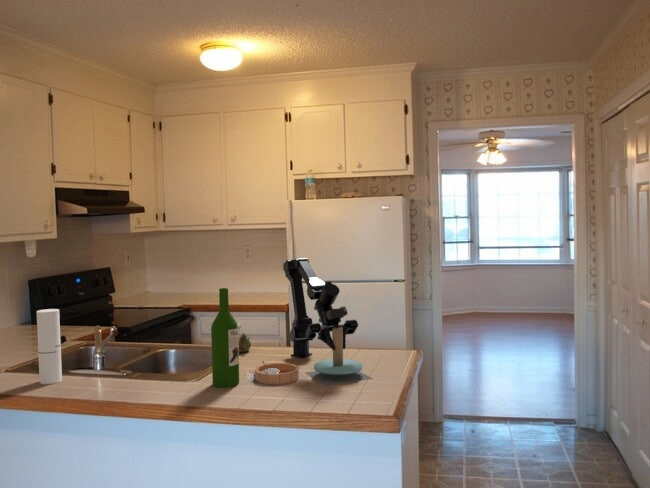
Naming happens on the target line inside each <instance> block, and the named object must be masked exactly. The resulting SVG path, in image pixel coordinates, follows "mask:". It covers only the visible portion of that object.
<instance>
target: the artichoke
mask: <svg viewBox="0 0 650 488" xmlns="http://www.w3.org/2000/svg"><path fill="white" fill-rule="evenodd" d="M250 338H251V337H250V336H249V335H248V334H247V333H243V332H242V333H241V335H238V346H239V352H240V353H245V352H248V351H249V350H251V347H252V343H251V339H250Z"/></svg>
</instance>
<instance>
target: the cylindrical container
mask: <svg viewBox="0 0 650 488" xmlns="http://www.w3.org/2000/svg"><path fill="white" fill-rule="evenodd" d="M60 318H61V316H60V308H59V309H58V308H47V309H39V310H36V327H37V328H36V330H37V349H38V351H37V352H38V372H39V373H38V374H39V376H38V377H39V384H41V385H51V384H52V385H53V384H58V383H60V382H62V380H63V372H62V370H63V369H62V348H61V347H62V346H61V325H60V324H61V323H60Z"/></svg>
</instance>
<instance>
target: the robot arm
mask: <svg viewBox="0 0 650 488" xmlns="http://www.w3.org/2000/svg"><path fill="white" fill-rule="evenodd" d="M282 269H283V271H284V274H285V277H286V279H287V280H288V281H289V282H290V289H291V296H292V298H291V299H292V303H293V305H292V306H293V312H294V319H293V321H292V323H291V329H290V332H289V334H288V337H289V340H288V341H290V342H292V343H293V348H292V350H293V351H292V352H293V353H291V354H290V356H291V357H296V358H302V359H304V358H306V357H309V356H311V355H313V352H310V341H313V340H314V339H315V338H316V337H317V340H320V341H322V342H323V343H324V344H326V345H327V346H328V347H329V348H330V349H331V351H333V350H335V346H334V343H333V337H332V336H331V332H332V333H333V331H332V328H336V327H340V328H343V350H345V349H346V345H347V344H346V340H347V339H346V336H347V335H353V334H355V332H356V330H357V329H358V327H359V323H358V320H356V319H346V320H345V321H344V324H339V323H341V322H342V320H341V319H343V318H344V317H346V316H347V315H348V310H347V308H346V306H340V307H339V308H334V307H333V304H334V303H335V302H336V300H337V298H338V296H339V294H340V288H339V287H338V286H337V285H336V284H335V283H332V281H330V280H329V281H328V280H327V281H324V280H322V279H320V278H318V276H317V274H316V272H315V271H314V268H313V267H312V266H311V264H310V260H309V258H308V257H307V258H306V257H297V258H295V259H286V260H285V262H283V265H282ZM303 280H304V283H305V284H306V286H307V288H306V294H307V297H308V298H309V299H310V300H312V301H314V300H315V303H314V306H313V307H314V311H317V314H318V317H319V318H318V322H317V323H313V319H312V317H310V316H308V314H307V307H306V299H305V294H304V293H305V292H304V287H303ZM320 323H321V324H320ZM317 335H318V336H317Z"/></svg>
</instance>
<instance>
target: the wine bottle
mask: <svg viewBox="0 0 650 488" xmlns="http://www.w3.org/2000/svg"><path fill="white" fill-rule="evenodd" d="M218 291H219V292H218V293H219V295H218V296H219V297H218V299H219V301H218V302H219V303H218V304H219V306H218V307H219V311H218V313H217V315H215V318H214V320H213V321H212V323H211V331H210V334H211V337H210V339H211V340H210V341H211V367H212V368H211V370H212V371H211V372H212V373H211V374H212V376H211V377H212V378H211V379H212V385H213V387H215V388H221V389H222V388H223V389H227V388H232V387H233V388H234V387H236V386H238V385H240V360H239V359H240V355H239V354H240V353H239V346H238V336H239V325H238V322H237V321H236V319H235V318H234V317H233V315H232V313H231V312H230V305H229V288H228V287H224V288H219V289H218Z"/></svg>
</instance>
